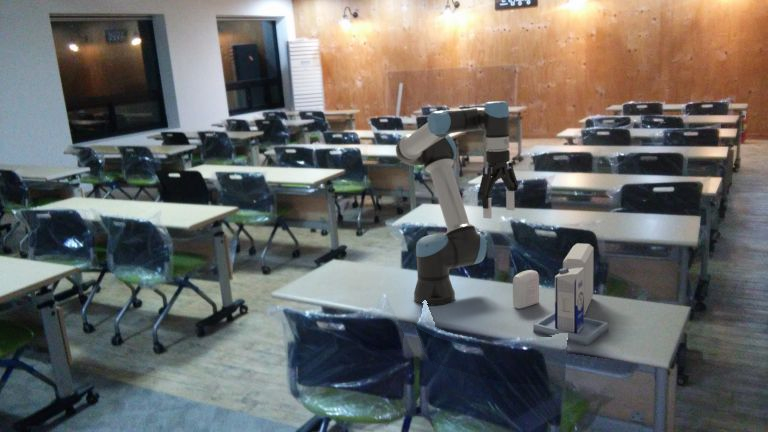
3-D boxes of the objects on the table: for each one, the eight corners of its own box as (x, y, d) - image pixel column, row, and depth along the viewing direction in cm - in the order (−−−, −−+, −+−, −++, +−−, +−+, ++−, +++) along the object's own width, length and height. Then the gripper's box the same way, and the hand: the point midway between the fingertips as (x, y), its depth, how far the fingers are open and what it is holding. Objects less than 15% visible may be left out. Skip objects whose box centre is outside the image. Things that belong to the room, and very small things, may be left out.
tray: (533, 331, 196) (533, 324, 195) (555, 317, 206) (555, 310, 205) (587, 345, 184) (587, 338, 183) (608, 330, 193) (608, 322, 193)
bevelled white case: (570, 295, 225) (570, 242, 221) (593, 297, 221) (594, 243, 217) (558, 316, 207) (558, 258, 202) (584, 319, 203) (584, 260, 199)
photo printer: (532, 299, 223) (531, 266, 220) (541, 302, 220) (540, 269, 217) (511, 306, 218) (510, 273, 215) (520, 310, 214) (519, 276, 212)
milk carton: (576, 336, 188) (576, 273, 184) (554, 332, 192) (554, 270, 188) (583, 327, 194) (584, 266, 189) (562, 324, 198) (562, 264, 193)
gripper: (485, 155, 190) (487, 222, 194) (528, 145, 207) (529, 207, 212) (465, 154, 195) (467, 220, 199) (508, 144, 212) (510, 205, 217)
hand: (499, 214), depth 206 cm, fingers open, 13 cm apart
